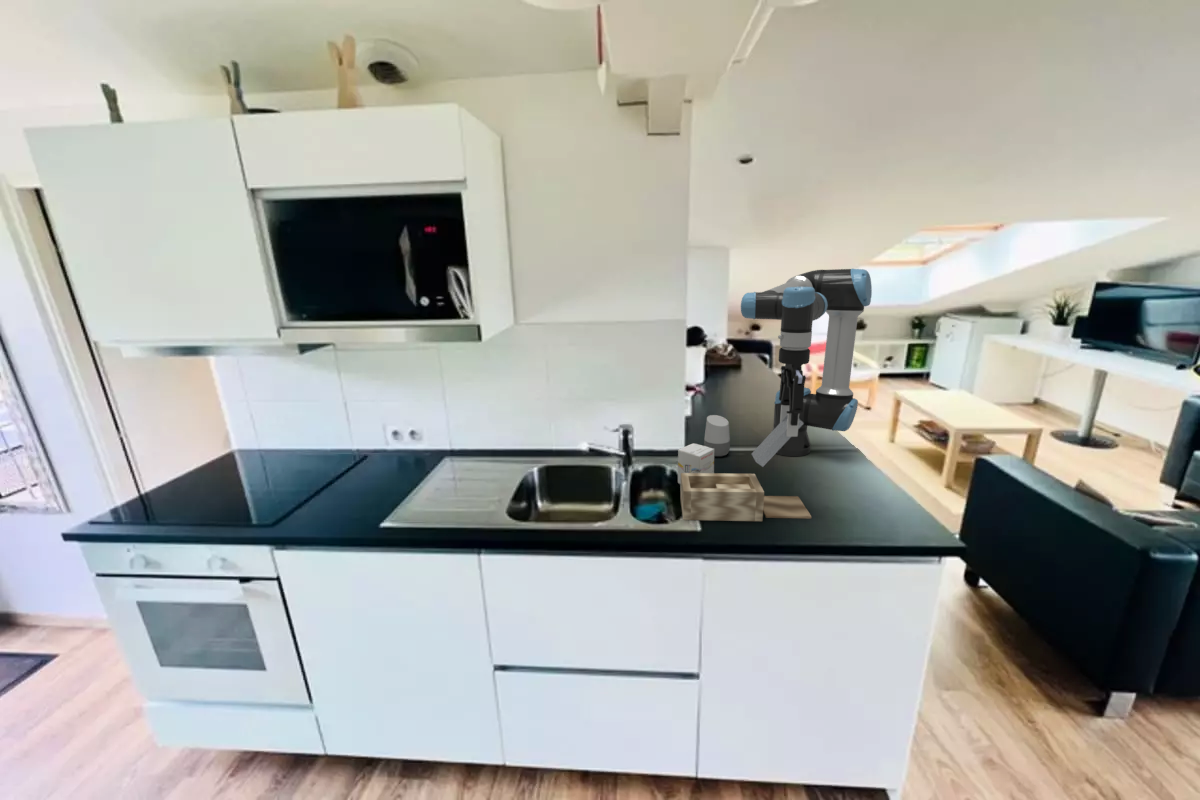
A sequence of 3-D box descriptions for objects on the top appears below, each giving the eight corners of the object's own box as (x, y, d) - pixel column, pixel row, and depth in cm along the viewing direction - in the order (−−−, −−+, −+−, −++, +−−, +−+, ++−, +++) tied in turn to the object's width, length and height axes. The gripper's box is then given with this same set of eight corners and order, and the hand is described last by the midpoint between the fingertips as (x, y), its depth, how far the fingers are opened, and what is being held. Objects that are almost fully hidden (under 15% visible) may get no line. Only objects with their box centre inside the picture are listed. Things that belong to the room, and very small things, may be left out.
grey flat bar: (797, 416, 134) (790, 411, 133) (804, 423, 128) (797, 417, 128) (757, 458, 138) (751, 453, 138) (762, 467, 132) (755, 461, 132)
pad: (756, 497, 144) (756, 495, 144) (798, 498, 143) (798, 496, 143) (765, 517, 133) (766, 515, 133) (811, 518, 132) (811, 516, 132)
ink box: (692, 474, 162) (693, 442, 159) (714, 482, 156) (715, 448, 153) (676, 483, 156) (677, 449, 153) (698, 491, 150) (699, 455, 147)
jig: (753, 500, 143) (754, 473, 140) (762, 521, 131) (764, 492, 129) (680, 499, 145) (680, 473, 143) (683, 519, 133) (683, 491, 131)
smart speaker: (718, 460, 172) (719, 423, 169) (698, 453, 179) (699, 417, 176) (734, 454, 178) (736, 417, 174) (714, 447, 185) (715, 412, 181)
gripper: (770, 342, 135) (765, 421, 142) (790, 354, 117) (783, 444, 123) (798, 342, 135) (792, 421, 141) (822, 353, 116) (814, 444, 123)
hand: (788, 431), depth 132 cm, fingers closed on grey flat bar, 6 cm apart
